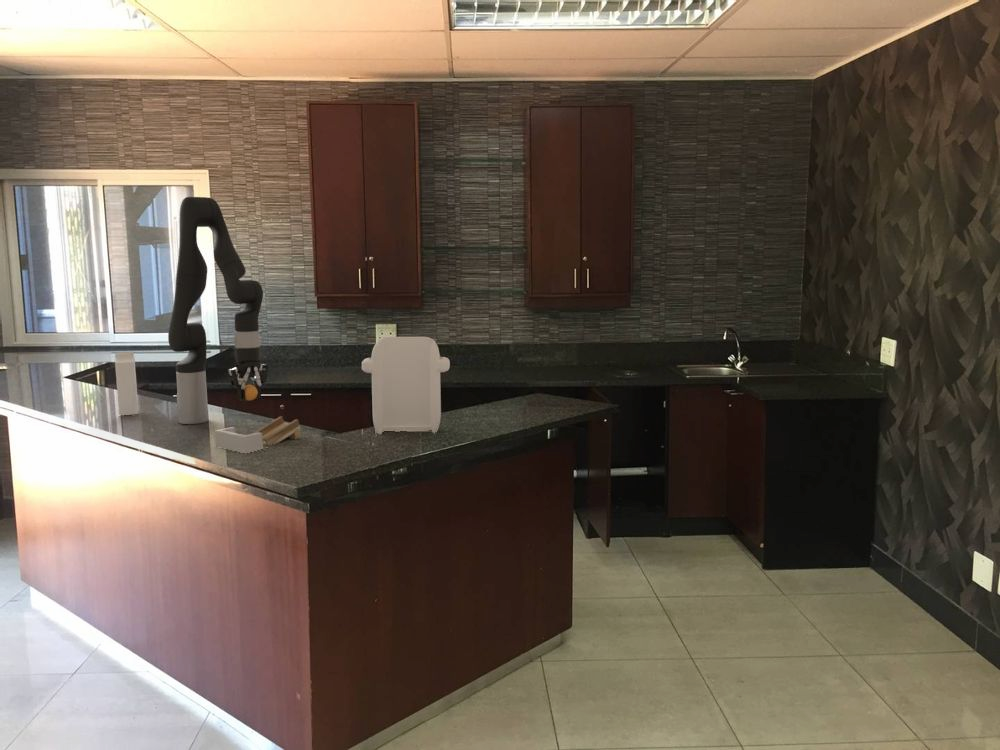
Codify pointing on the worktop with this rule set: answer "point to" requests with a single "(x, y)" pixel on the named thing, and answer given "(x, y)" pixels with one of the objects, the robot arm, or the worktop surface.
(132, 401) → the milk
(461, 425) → the worktop surface
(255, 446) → the backstop
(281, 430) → the ramp
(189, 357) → the robot arm
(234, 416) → the worktop surface
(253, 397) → the ball
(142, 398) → the worktop surface
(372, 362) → the toaster
